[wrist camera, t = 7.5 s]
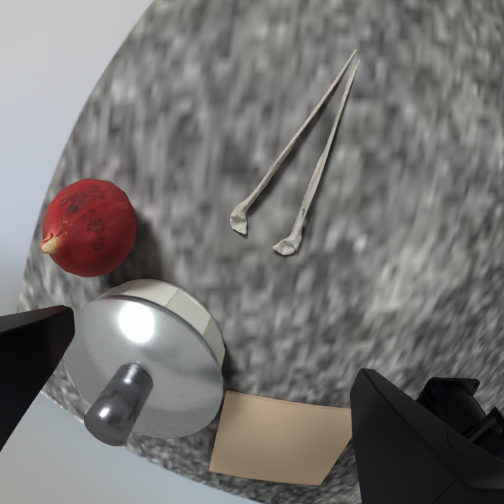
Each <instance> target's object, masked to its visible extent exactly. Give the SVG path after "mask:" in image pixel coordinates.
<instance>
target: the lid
mask: <svg viewBox="0 0 504 504" xmlns="http://www.w3.org/2000/svg"><path fill="white" fill-rule="evenodd" d="M74 321H75V336H74V338H73V340H72V342H71V343H70V345H69V347H68V348H67V350H66V352H65V354H64V358H65V363H66V366H67V369H68V371H69V374H70V376H71V378H72V380H73V382H74V383H75V385H76V387H77V388H78V390H79V391H80V392H81V394H82V395H83V396H84V397H85V399H86V400H87V401H88V402H89V403H90V404H91V405H92V407H91V408H90V409H89V411H88V412H87V414H86V415H85V417H84V424H85V426H86V428H87V429H88V431H89V432H90V433H91V434H92V435H93V436H94V437H95V438H97V439H98V440H100V441H102V442H103V443H106V444H108V445H112V446H121V445H123V444H125V442H126V440H127V438H128V436H129V434H130V432H131V431H133V432H135V433H138V434H142V435H145V436H150V437H156V438H179V437H184V436H188V435H191V434H194V433H196V432H198V431H200V430H202V429H203V428H205V427H206V426H207V425H208V424H209V423H210V422H211V421H212V420H213V419H214V417H215V416H216V414H217V412H218V410H219V407H220V404H221V400H222V395H223V376H222V371H221V367H220V365H219V362H218V359H217V357H216V356H215V354H214V352H213V350H212V348H211V347H210V346H209V344H208V343H207V341H206V340H205V339H204V338H203V336H202V335H201V334H200V333H199V332H198V331H197V330H196V329H195V328H194V327H193V326H192V325H191V324H190V323H189V322H187V321H186V320H185V319H183V318H182V317H181V316H179V315H178V314H177V313H175V312H173V311H172V310H170V309H168V308H166V307H165V306H162V305H160V304H158V303H156V302H154V301H151V300H148V299H145V298H141V297H136V296H132V295H108V296H103V297H100V298H97V299H95V300H92V301H91V302H89V303H87V304H86V305H85V306H83V307H82V308H81V309H80V310H78V311H77V312H76V313H75V314H74Z"/></svg>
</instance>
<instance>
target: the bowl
mask: <svg viewBox="0 0 504 504" xmlns="http://www.w3.org/2000/svg"><path fill="white" fill-rule="evenodd" d="M108 295H132V296H136V297H141V298H145V299H148V300H151V301H154V302H156V303H158V304H160V305H162V306H165V307H166V308H168V309H170V310H172V311H173V312H175V313H177V314H178V315H179V316H181V317H182V318H183V319H185V320H186V321H187V322H189V323H190V324H191V325H192V326H193V327H194V328H195V329H196V330H197V331H198V332H199V333H200V334H201V335H202V336H203V338H204V339H205V340H206V341H207V343H208V344H209V346H210V347H211V348H212V350H213V352H214V354H215V356H216V357H217V359H218V362H219V365H220V367H221V370H222V365H223V360H224V355H225V348H224V342H223V337H222V334H221V331H220V328H219V326H218V324H217V322H216V320H215V319H214V317H213V316H212V314H211V312H210V311H209V310H208V309H207V308H206V307H205V305H204V304H203V303H202V302H200V301H199V300H198V299H197V298H196V297H195V296H193V295H192V294H191V293H189V292H188V291H186V290H184V289H183V288H181V287H179V286H176V285H174V284H172V283H169V282H166V281H162V280H157V279H147V278H144V279H135V280H131V281H127V282H125V283H123V284H121V285H119V286H116V287H113V288H110V289H108V290H107V291H106V292H104V293H103V294H102V295H101V296H100V297H103V296H108ZM100 297H98V298H100Z"/></svg>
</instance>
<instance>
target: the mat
mask: <svg viewBox="0 0 504 504" xmlns="http://www.w3.org/2000/svg"><path fill="white" fill-rule="evenodd" d="M351 437H352V425H351V409H349V408H338V407H328V406H320V405H312V404H304V403H297V402H290V401H283V400H277V399H271V398H265V397H260V396H254V395H249V394H244V393H239V392H234V391H230V390H227V391H226V395H225V400H224V404H223V409H222V413H221V417H220V422H219V426H218V431H217V435H216V440H215V444H214V449H213V453H212V457H211V462H210V466H209V471H212V472H217V473H222V474H227V475H233V476H238V477H244V478H251V479H258V480H265V481H273V482H282V483H293V484H307V485H320V484H321V483H322V481H323V480H324V478H325V477H326V476H327V474H328V473H329V471H330V470H331V468H332V467H333V465H334V464H335V462H336V461H337V459H338V458H339V456H340V455H341V453H342V452H343V450H344V448H345V447H346V445H347V444H348V442H349V440H350V439H351Z"/></svg>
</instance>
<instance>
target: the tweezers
mask: <svg viewBox="0 0 504 504" xmlns="http://www.w3.org/2000/svg"><path fill="white" fill-rule="evenodd" d="M356 50H357V49H356ZM356 50H355V51H354V52H353V54H352V55H351V57H350V58H349V60H348V61H347V63H346V64H345V66H344V67H343V69H342V70H341V71H340V73H339V75H338V76H337V78H336V79H335V81H334V82H333V84H332V85H331V86H330V88H329V90H328V91H327V92H326V94H325V95H324V96H323V98H322V99H321V101H320V102H319V104H318V105H317V106H316V108H315V109H314V111H313V112H312V114H311V115H310V116H309V118H308V119H307V120H306V122H305V123H304V124H303V126H302V127H301V128H300V130H299V131H298V132H297V134H296V135H295V136H294V137H293V139H292V140H291V141H290V143H289V144H288V145H287V147H286V148H285V150H284V151H283V152H282V154H281V155H280V156H279V158H278V159H277V160H276V162H275V163H274V164H273V166H272V167H271V168H270V169H269V171H268V173H267V174H266V176H265V177H264V179H263V180H262V181H261V183H260V184H259V185H258V187H257V188H256V189H255V190H254V192H253V193H252V194H251V195H250V196H249V197H248V198H247V199H246V200H245V201H243V202H242V203H241V204H239V205H237V207H236V208H235V209H234V210H233V212H232V214H231V215H230V216H231V218H230V225H231V227H232V228H233V230H237V231H238V232H241V233H242V234H246V233H247V231H246V226H247V220H246V212H247V210H248V209H249V207H250V206H251V204H252V203H253V202H254V200H255V199H256V198H257V197H258V195H259V194H260V192H261V191H262V190H263V189H264V188H265V186H266V185H267V184H268V182H269V180H270V179H271V177H272V176H273V174H274V173H275V172H276V170H277V169H278V167H279V166H280V165H281V163H282V162H283V160H284V159H285V158H286V156H287V155H288V154H289V152H290V151H291V149H292V147H293V146H294V144H295V142H296V140H297V138H298V137H299V135H300V134H301V132H302V131H303V130H304V128H305V127H306V126H307V124H308V123H309V122H310V120H311V119H312V118H313V117H314V116H315V114H316V113H317V111H318V110H319V108H320V107H321V105H322V104H323V102H324V101H325V99H326V98H327V97H328V95H329V94H330V92H331V91H332V90H333V88H334V86H335V85H336V84H337V82H338V81H340V78H341V77H342V75H343V73H344V71H345V70H346V68H347V67H348V65H349V63H350V62H351V60H352V58H353V56H354V54H355V52H356ZM359 62H360V60H359V61H358V63H357V65H356V67H355V69H354V71H353V72H352V74H351V76H350V78H349V80H348V82H347V85H346V88H345V92H344V94H343V97H342V99H341V104H340V107H339V110H338V113H337V115H336V118H335V122H334V125H333V128H332V132H331V134H330V137H329V140H328V142H327V145H326V148H325V151H324V153H323V154H322V156H321V157H320V159H319V161H318V163H317V166H316V168H315V171H314V173H313V176H312V179H311V181H310V184H309V186H308V189H307V191H306V194H305V196H304V199H303V202H302V205H301V208H300V211H299V213H298V216H297V219H296V222H295V224H294V227H293V229H292V232H291V234H290V236H289V237H288V238H286V239H283V240H281V241H280V242H279V243H278V244H277V245H275V246H273V249H274V250H276V251H278V252H279V253H282V255H289V254H292V253H293V252H294V251H295V250H296V251H297V249H298V247H299V244H300V242H301V239H302V237H301V232H302V227H303V224H304V220H305V217H306V214H307V211H308V209H309V206H310V203H311V201H312V198H313V196H314V194H315V191H316V189H317V186H318V183H319V180H320V177H321V174H322V171H323V168H324V165H325V162H326V159H327V156H328V153H329V149H330V146H331V143H332V140H333V137H334V134H335V131H336V128H337V124H338V122H339V118H340V116H341V112H342V110H343V107H344V104H345V101H346V98H347V95H348V93H349V89H350V87H351V84H352V82H353V79H354V76H355V73H356V71H357V68H358V65H359ZM304 210H305V212H304ZM303 214H304V215H303ZM302 217H303V218H302Z"/></svg>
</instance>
